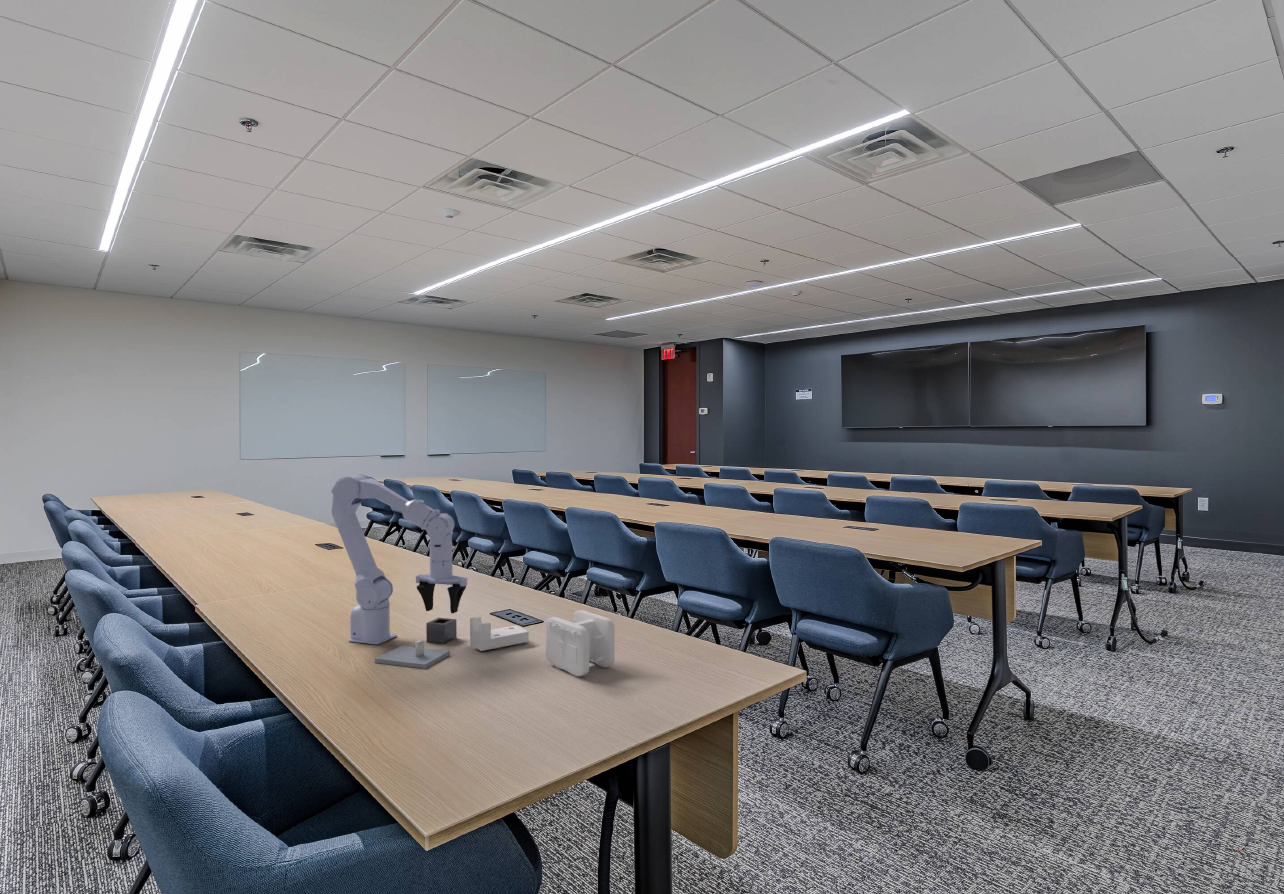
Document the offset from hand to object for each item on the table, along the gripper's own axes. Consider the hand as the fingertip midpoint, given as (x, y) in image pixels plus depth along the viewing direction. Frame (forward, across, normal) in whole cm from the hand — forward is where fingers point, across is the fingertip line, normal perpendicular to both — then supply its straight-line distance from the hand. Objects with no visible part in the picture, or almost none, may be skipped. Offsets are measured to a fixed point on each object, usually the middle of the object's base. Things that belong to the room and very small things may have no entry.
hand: (441, 611), depth 179 cm
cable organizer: (+8, +43, -8) cm, 44 cm away
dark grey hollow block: (+8, 0, 0) cm, 8 cm away
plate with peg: (+8, +2, -15) cm, 17 cm away
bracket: (+8, +17, +1) cm, 19 cm away
